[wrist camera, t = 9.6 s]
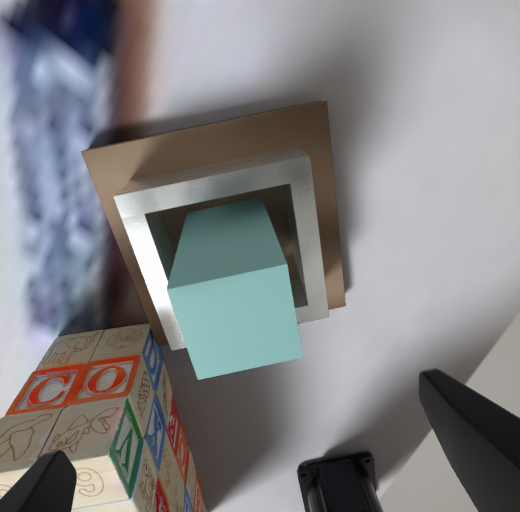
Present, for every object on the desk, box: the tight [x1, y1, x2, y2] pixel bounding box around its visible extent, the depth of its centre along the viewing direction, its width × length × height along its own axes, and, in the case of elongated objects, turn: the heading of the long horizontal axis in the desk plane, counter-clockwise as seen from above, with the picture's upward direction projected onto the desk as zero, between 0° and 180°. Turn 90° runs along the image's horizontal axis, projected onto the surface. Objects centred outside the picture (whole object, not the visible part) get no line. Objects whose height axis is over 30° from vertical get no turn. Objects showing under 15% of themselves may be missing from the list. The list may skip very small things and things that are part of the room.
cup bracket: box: [113, 146, 329, 351], centre depth 18 cm, size 8×8×3 cm
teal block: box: [166, 197, 303, 380], centre depth 16 cm, size 4×4×8 cm
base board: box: [81, 101, 346, 346], centre depth 20 cm, size 12×12×1 cm
